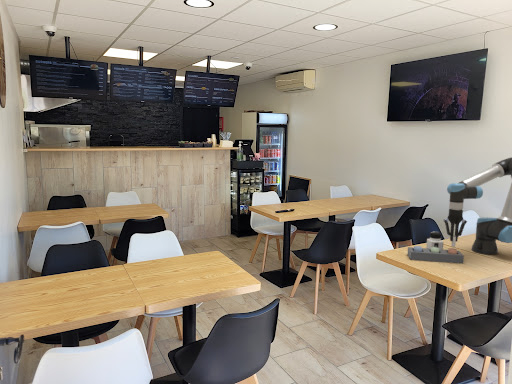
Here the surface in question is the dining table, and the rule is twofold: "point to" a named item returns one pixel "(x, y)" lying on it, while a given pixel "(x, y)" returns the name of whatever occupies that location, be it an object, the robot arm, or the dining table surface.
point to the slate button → (418, 248)
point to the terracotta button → (452, 251)
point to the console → (435, 256)
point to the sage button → (435, 249)
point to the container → (435, 240)
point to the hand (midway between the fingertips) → (453, 246)
